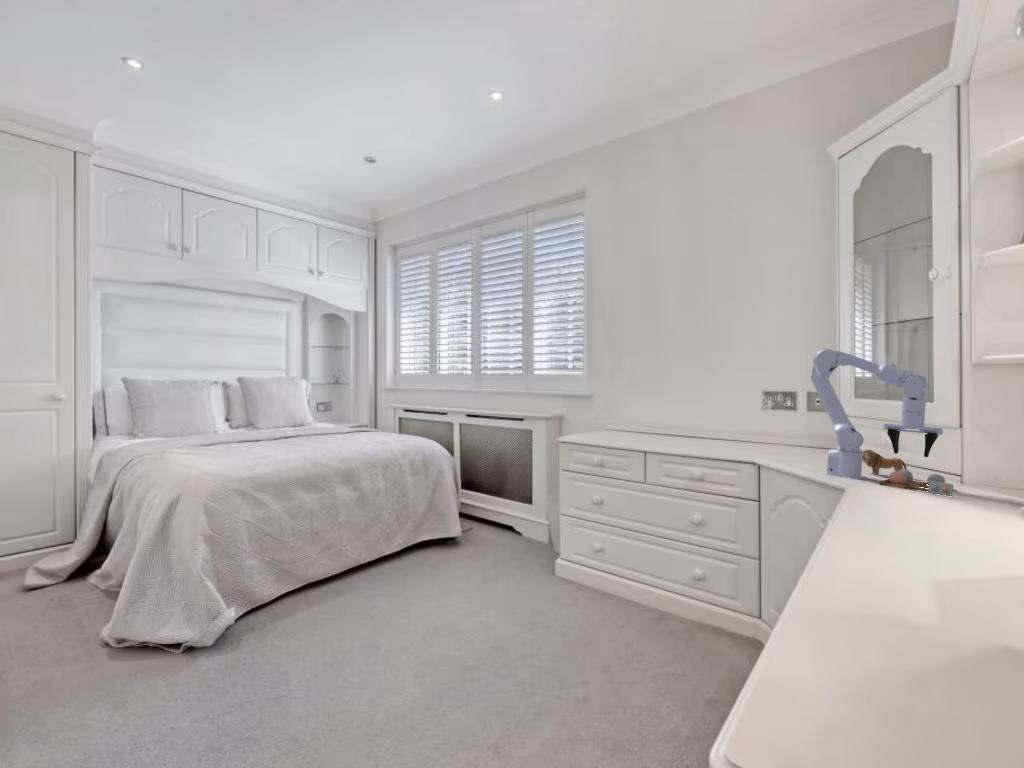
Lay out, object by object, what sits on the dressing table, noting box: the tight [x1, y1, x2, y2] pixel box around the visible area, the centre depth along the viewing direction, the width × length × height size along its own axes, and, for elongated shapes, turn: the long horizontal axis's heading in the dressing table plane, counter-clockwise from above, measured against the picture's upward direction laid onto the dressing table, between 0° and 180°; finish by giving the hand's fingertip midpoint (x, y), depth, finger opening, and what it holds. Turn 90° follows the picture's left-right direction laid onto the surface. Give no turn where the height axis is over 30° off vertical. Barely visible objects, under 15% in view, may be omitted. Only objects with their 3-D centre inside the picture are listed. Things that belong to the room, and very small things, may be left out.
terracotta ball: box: [888, 470, 907, 485], centre depth 159 cm, size 4×4×4 cm
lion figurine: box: [862, 449, 908, 476], centre depth 177 cm, size 15×5×9 cm, turn 71°
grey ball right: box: [926, 473, 946, 484], centre depth 157 cm, size 4×4×4 cm
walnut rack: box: [879, 478, 929, 493], centre depth 158 cm, size 15×15×1 cm
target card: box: [928, 481, 954, 497], centre depth 146 cm, size 5×1×4 cm, turn 39°
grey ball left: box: [899, 468, 914, 483], centre depth 164 cm, size 4×4×4 cm
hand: (910, 455), depth 161 cm, fingers open, 7 cm apart
